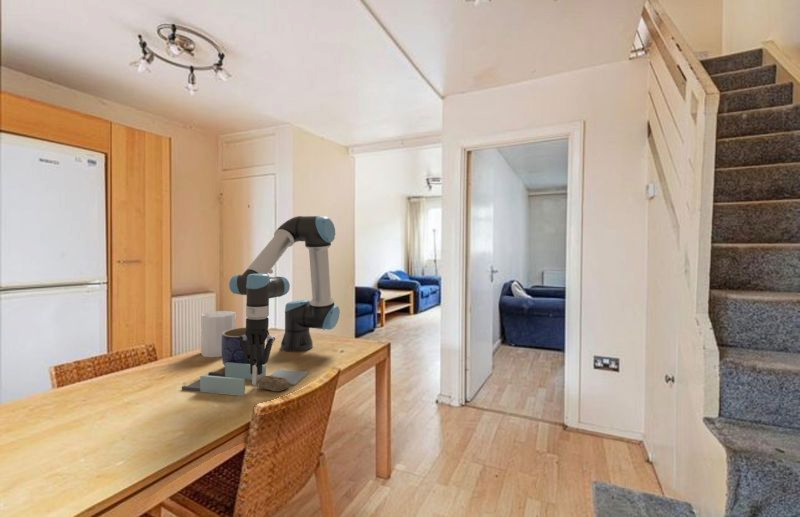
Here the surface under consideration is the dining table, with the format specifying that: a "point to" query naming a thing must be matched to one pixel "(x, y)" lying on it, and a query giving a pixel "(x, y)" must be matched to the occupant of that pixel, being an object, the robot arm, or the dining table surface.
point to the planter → (233, 346)
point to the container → (215, 331)
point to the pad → (290, 375)
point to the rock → (273, 383)
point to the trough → (225, 380)
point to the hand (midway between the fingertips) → (256, 382)
